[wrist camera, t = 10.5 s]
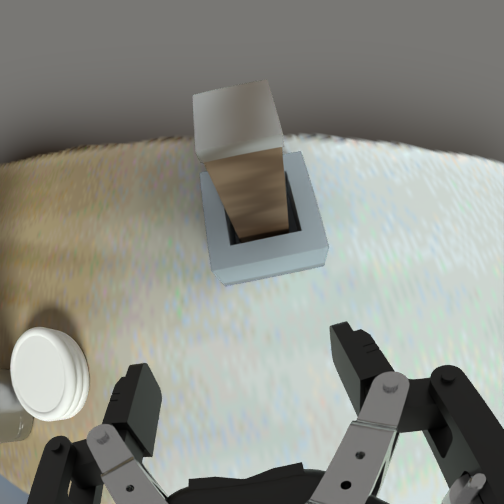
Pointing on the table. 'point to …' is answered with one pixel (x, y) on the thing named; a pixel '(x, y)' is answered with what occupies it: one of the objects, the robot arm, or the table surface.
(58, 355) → the white round disc
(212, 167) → the rail post
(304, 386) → the table surface
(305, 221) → the grey square collar
